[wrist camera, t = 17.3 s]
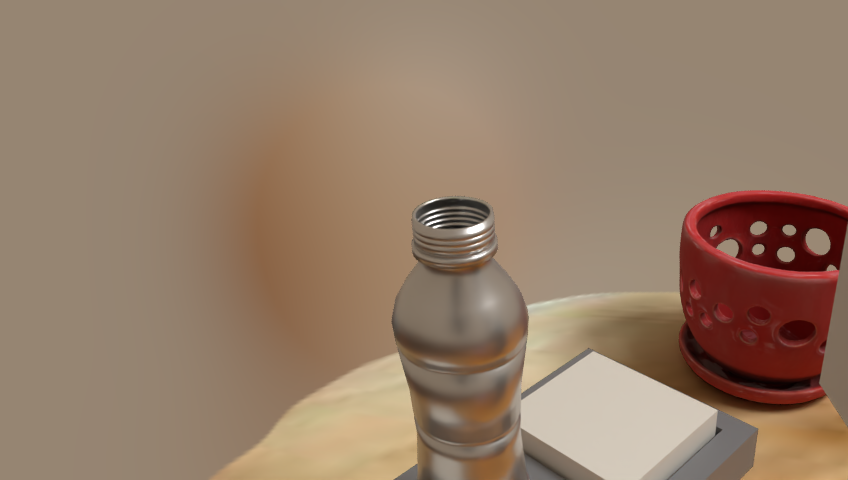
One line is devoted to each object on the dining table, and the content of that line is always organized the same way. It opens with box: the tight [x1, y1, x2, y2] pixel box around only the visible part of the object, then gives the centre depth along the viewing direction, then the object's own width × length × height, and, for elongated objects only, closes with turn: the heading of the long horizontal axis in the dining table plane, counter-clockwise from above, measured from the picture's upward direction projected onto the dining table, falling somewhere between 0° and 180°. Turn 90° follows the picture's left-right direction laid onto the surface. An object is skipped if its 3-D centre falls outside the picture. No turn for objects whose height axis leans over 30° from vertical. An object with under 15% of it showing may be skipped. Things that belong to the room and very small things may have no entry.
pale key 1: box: [520, 351, 718, 480], centre depth 48 cm, size 9×9×2 cm
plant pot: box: [679, 190, 848, 404], centre depth 54 cm, size 13×13×12 cm
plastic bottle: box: [392, 196, 530, 480], centre depth 37 cm, size 6×7×20 cm
